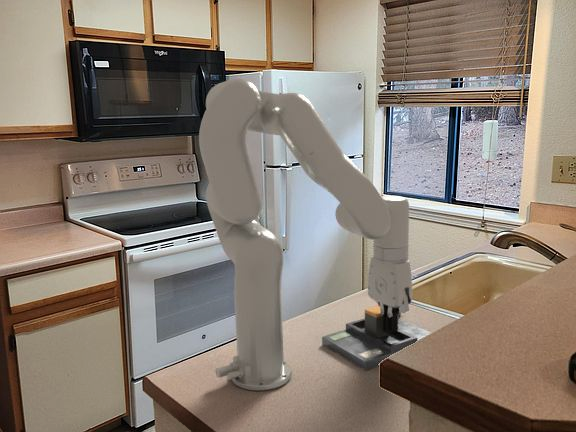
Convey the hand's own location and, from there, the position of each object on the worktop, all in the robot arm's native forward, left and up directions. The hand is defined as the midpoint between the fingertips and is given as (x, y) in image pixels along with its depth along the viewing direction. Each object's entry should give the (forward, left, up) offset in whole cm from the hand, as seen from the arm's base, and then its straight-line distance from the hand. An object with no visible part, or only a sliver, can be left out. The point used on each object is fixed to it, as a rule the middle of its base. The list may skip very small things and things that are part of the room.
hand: (390, 331), depth 119 cm
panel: (0, +3, -5) cm, 6 cm away
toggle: (0, +5, -2) cm, 5 cm away
